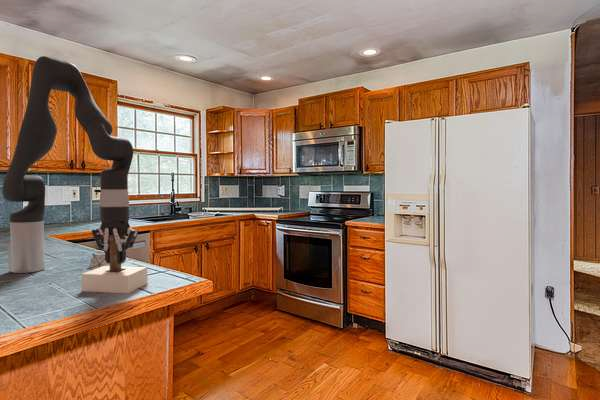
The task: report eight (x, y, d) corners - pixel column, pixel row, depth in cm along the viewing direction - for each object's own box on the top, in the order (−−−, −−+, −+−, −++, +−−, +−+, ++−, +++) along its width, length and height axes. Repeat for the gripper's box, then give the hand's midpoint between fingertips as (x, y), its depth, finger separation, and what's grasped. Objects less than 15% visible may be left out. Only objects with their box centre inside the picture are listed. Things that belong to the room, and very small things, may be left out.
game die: (97, 288, 113) (75, 267, 108) (104, 273, 120) (83, 253, 115) (122, 275, 113) (101, 253, 108) (127, 260, 121) (107, 240, 116)
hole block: (81, 291, 98) (81, 273, 98) (105, 281, 108) (104, 265, 108) (128, 293, 97) (128, 275, 96) (147, 283, 107) (147, 267, 106)
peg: (107, 276, 101) (106, 235, 100) (114, 273, 104) (113, 233, 103) (117, 276, 100) (116, 235, 100) (123, 273, 103) (122, 234, 103)
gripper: (83, 205, 98) (84, 265, 99) (129, 205, 97) (130, 266, 97) (101, 203, 106) (102, 259, 106) (144, 204, 104) (145, 261, 105)
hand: (115, 262), depth 102 cm, fingers closed on peg, 3 cm apart
